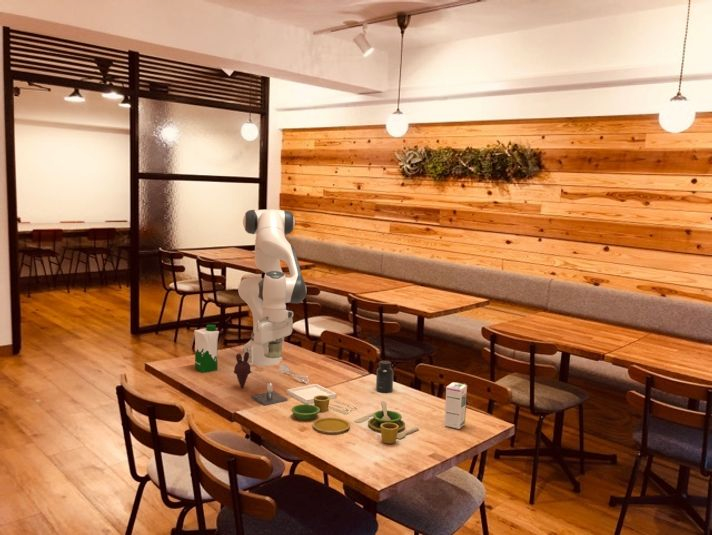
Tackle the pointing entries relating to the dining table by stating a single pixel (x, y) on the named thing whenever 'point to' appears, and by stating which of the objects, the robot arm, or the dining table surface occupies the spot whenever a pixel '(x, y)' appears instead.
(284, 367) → the stirrer
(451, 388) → the syrup box
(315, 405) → the tableware set
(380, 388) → the supplement bottle
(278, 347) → the napkin ring
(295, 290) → the robot arm
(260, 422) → the dining table surface
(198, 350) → the milk carton
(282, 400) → the stand
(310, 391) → the tray
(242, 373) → the icecream
